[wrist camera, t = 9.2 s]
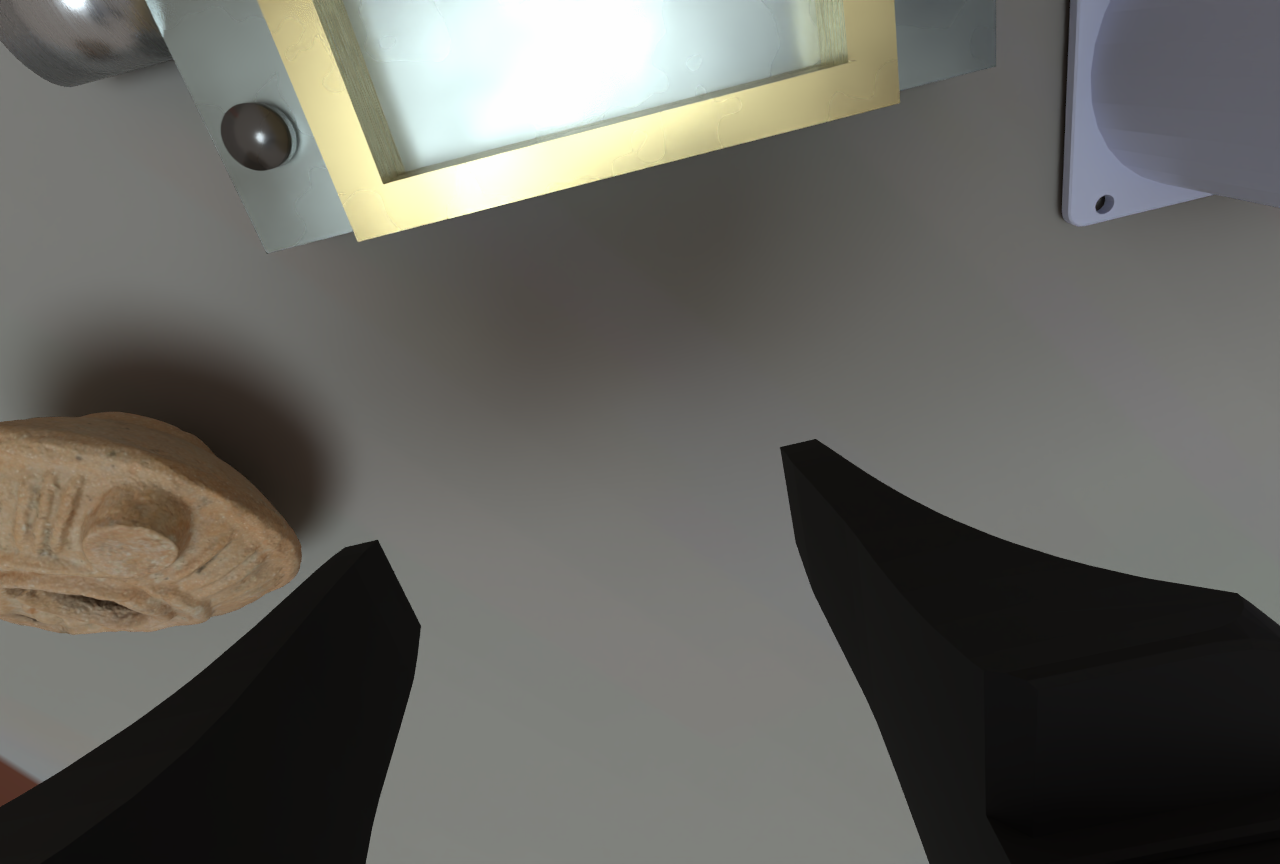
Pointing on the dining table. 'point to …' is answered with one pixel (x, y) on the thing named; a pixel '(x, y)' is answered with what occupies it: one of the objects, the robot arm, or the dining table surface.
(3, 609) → the pottery oil lamp
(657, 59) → the metal tray
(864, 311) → the dining table surface
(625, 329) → the dining table surface
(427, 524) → the dining table surface
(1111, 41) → the robot arm
